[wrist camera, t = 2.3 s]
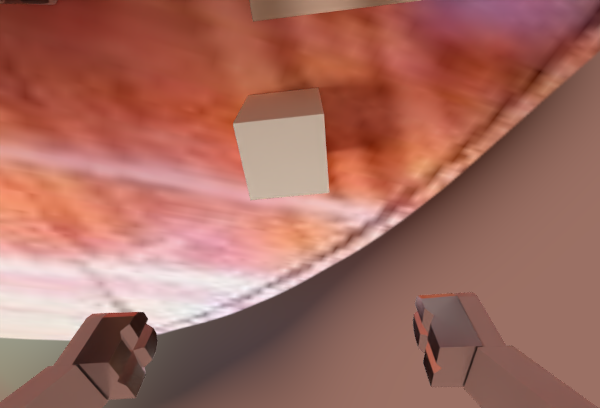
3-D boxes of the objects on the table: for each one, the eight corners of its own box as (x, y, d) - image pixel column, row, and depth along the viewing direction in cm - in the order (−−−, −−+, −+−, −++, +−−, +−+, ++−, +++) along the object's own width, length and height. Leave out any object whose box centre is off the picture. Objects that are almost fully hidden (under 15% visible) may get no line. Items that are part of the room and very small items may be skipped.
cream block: (260, 159, 25) (250, 200, 20) (248, 95, 22) (232, 123, 17) (323, 153, 25) (329, 192, 20) (318, 87, 22) (323, 113, 17)
